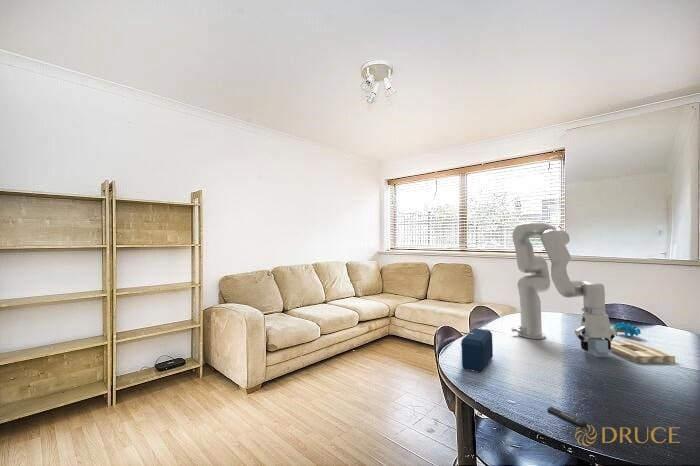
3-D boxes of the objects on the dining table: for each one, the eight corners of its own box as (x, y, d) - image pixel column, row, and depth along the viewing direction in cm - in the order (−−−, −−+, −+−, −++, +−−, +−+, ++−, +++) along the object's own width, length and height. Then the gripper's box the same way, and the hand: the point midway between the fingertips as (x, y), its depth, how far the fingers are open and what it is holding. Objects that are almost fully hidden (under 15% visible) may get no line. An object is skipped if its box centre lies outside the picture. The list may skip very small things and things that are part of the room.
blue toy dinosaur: (645, 334, 157) (635, 322, 155) (642, 344, 154) (632, 331, 152) (619, 332, 166) (609, 320, 164) (616, 341, 164) (606, 329, 162)
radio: (472, 354, 138) (471, 309, 139) (493, 358, 133) (492, 311, 134) (459, 370, 121) (458, 319, 122) (483, 375, 116) (481, 322, 117)
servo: (600, 359, 130) (599, 341, 130) (581, 349, 141) (580, 333, 141) (612, 358, 130) (611, 341, 130) (592, 349, 141) (591, 333, 141)
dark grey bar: (546, 413, 91) (546, 407, 91) (551, 410, 92) (551, 405, 92) (582, 429, 83) (582, 424, 83) (587, 427, 84) (587, 421, 84)
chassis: (635, 362, 126) (634, 356, 126) (596, 346, 146) (596, 340, 146) (675, 362, 125) (674, 355, 125) (631, 345, 145) (631, 340, 145)
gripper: (580, 313, 133) (582, 353, 132) (621, 312, 132) (623, 352, 132) (568, 309, 140) (570, 347, 140) (607, 308, 140) (608, 346, 139)
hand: (596, 349), depth 136 cm, fingers open, 9 cm apart
